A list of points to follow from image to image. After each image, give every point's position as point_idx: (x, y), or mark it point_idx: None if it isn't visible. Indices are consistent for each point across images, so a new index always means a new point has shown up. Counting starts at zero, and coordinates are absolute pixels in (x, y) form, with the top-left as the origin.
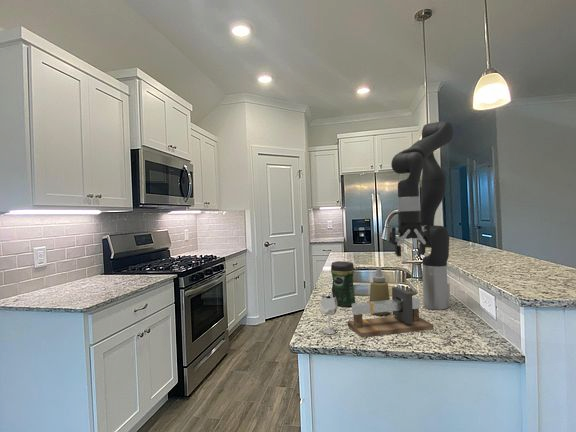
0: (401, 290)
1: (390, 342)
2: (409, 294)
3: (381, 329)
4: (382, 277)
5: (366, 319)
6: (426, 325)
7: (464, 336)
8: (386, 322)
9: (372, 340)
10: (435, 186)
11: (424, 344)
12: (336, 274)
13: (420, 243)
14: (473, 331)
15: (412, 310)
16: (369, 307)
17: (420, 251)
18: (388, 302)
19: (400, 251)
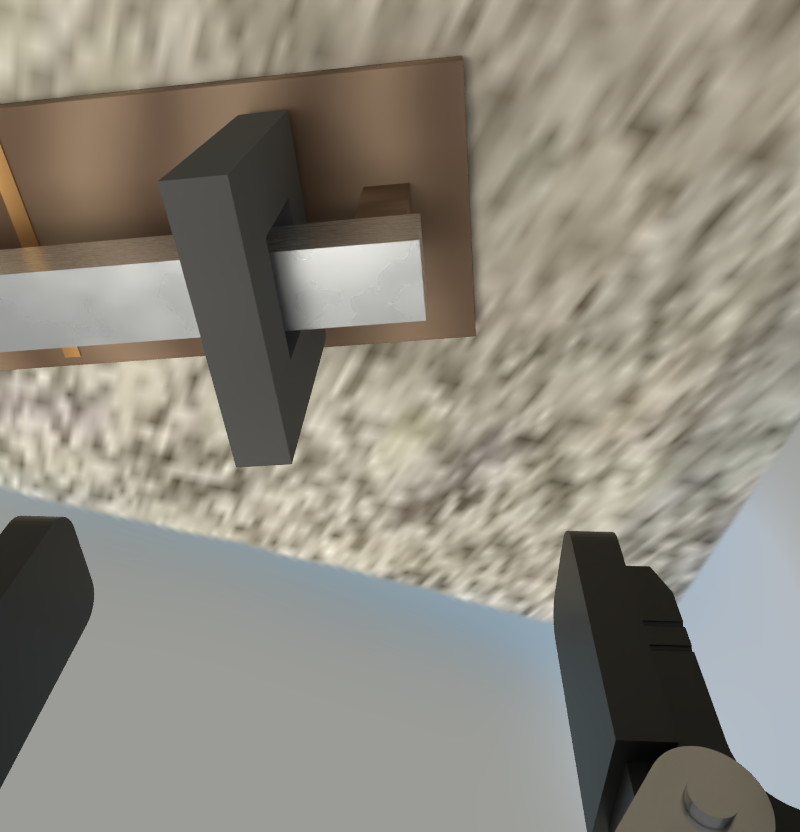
0: (226, 351)
1: (140, 445)
2: (265, 460)
3: (100, 346)
4: None
5: (7, 119)
6: (421, 339)
7: (575, 452)
8: (161, 225)
9: (44, 405)
10: None
11: (307, 495)
12: None
13: (630, 797)
14: (686, 401)
15: (312, 382)
16: None
17: (572, 611)
18: (111, 337)
19: (37, 690)
